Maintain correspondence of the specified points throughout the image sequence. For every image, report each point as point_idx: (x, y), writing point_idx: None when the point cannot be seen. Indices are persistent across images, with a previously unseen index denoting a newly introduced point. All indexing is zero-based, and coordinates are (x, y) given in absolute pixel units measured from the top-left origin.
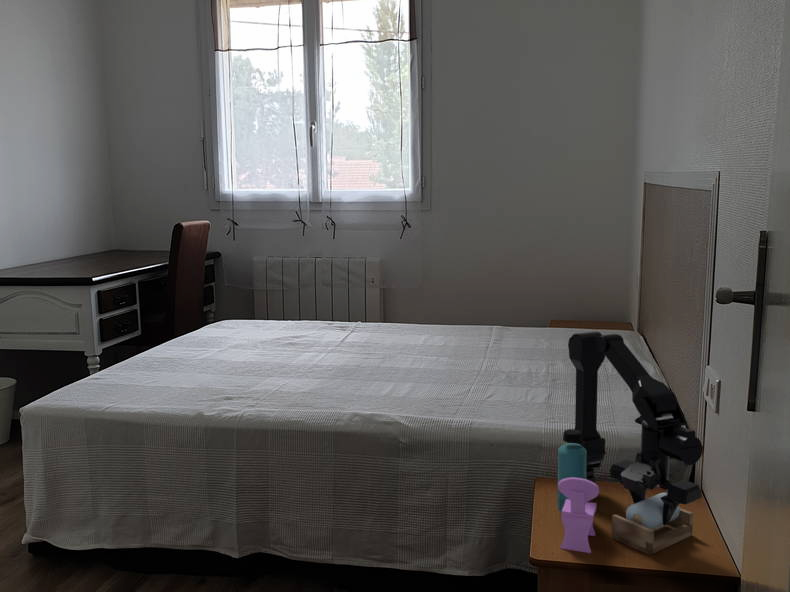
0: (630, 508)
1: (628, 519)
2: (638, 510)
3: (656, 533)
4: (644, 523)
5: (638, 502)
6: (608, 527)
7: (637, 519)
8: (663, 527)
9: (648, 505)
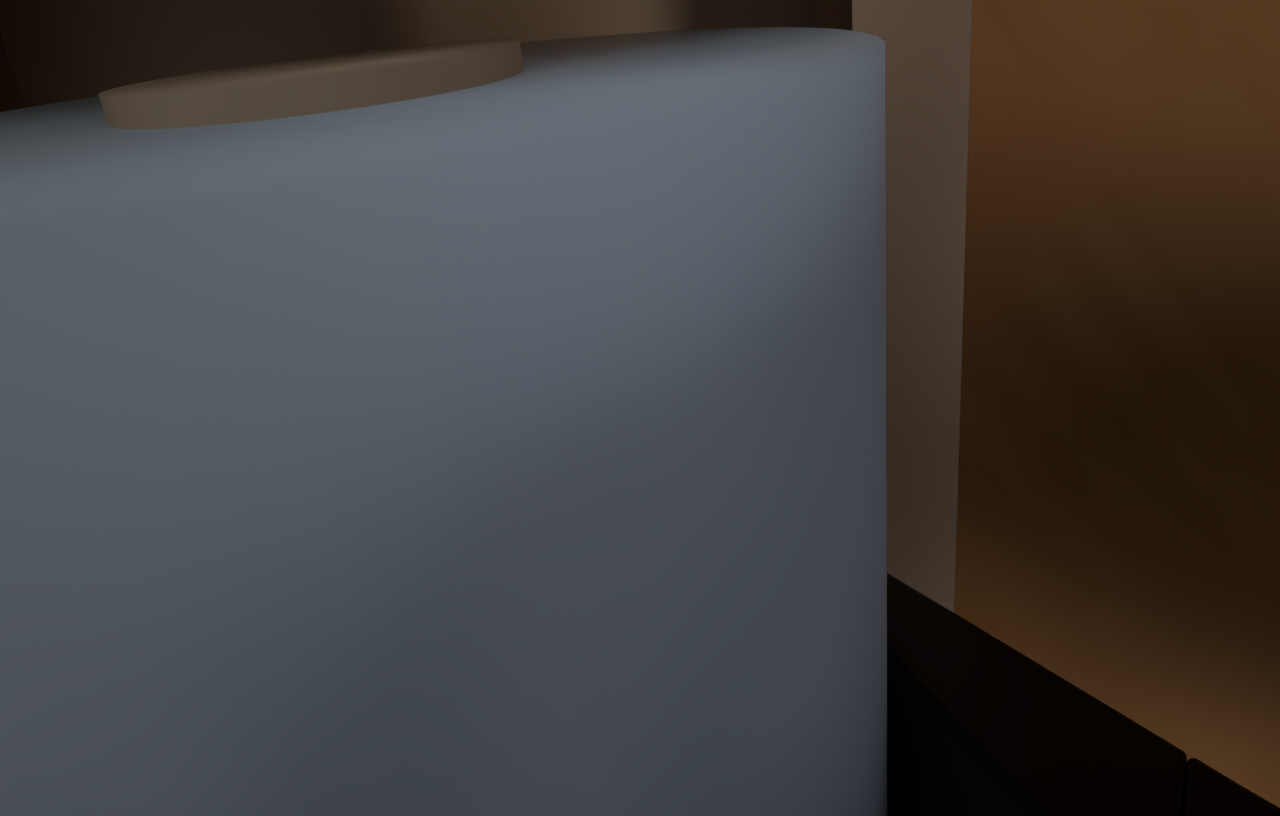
0: (719, 84)
1: (723, 37)
2: (200, 139)
3: None
4: (66, 115)
5: (585, 587)
6: (1201, 56)
7: (329, 64)
8: None
9: (1, 743)
